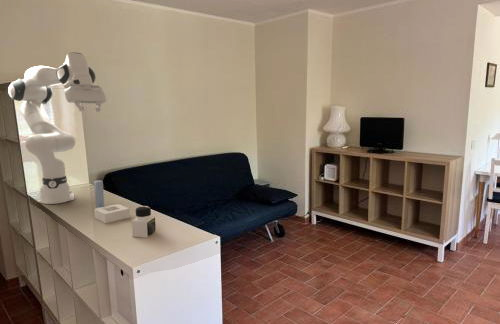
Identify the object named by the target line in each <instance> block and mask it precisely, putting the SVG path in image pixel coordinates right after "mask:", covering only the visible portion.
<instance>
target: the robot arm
mask: <svg viewBox="0 0 500 324" xmlns="http://www.w3.org/2000/svg"><path fill="white" fill-rule="evenodd" d="M95 81H96V72H94V70H93V69H92V68H91V67H90V66H89V64H88V62H87V59H86V57H85V55H84V54H83V53H81V52H75V51H74V52H68V53H67V54H66V57H65V61H64V62H63V64H62V65H60V66H59V67H58V68H56V67H50V66H45V65H38V66H37V65H36V66H33V67H30V68H28V69H27V70H25V72H24V78H23V79H21V78H17V80H15V81H12V82H11V83H10V84H9V86H8V88H7V90H8V91H7V92H8V96H9V97H10V99H11V100H13V101H17V102H23V103H22V104H21V105H20V106H21V107H20V110H21V113H22V116H23V119H24V121H25V122H26V124H27V125H28V127H29V129H30V131H31V132H32V133H34V134H32V135H31V134H30V135H29V136H27V138H26V139H25V142H24V143H25V148H26V150H27V151H28V152H29V153H31V154H32V155H34V156H35V157H36V158H37V159H38V160H39V162H40V166H41V172H42V180H41V181H42V185H41V186H40V189H39V190H40V191H39V192H40V193H39V194H40V199H38V200H37V203H42V204H45V205H54V204H56V205H57V204H62V203H66V202H68V201H69V202H70V201H74V200H75V199H76V197H75V194H74V192H72V191H71V189H70V185H69V184H68V181H67V180H68V178H67V175H66V168H65V167H66V166H65V163H64V161H63V160H61V159H59V158H57V157H55V153H61V152H67V151H69V150H73V149H74V147H75V145H76V138H75V137H74V135H73V134H72V133H70V132H67V131H64V130H62V129H61V128H59V127H58V126H56V125H55V124H54V123H53V122H52V120H51V119H50V117H49V116H48V115H47V113H46V112H45V110H44V108H43V106H44V105H47V103H48V102H49V101H50V100H51V98H52V97H53V89H52V86H56V85H57V86H58V85H63V88H64V95H65V100H66V102H68V103H71V104H72V103H74V105H75V106H76V108H77V109H78V111H79V112H84V111H85V107H83V106H82V105H81V104H95V105H96V108H95V111H96V112H99V113H100V112H101V107H102V104H105V103H106V102H107V98H106V95H105V92H104V90H103V88H102V87H101V86H99V85H95V84H94V83H95Z"/></svg>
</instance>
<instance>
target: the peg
mask: <svg viewBox="0 0 500 324" xmlns="http://www.w3.org/2000/svg"><path fill="white" fill-rule="evenodd" d="M103 181H104V180H94V182H93V184H94V196H95V198H94V199H95V200H94V201H95V208H100V207H105V199H104V198H105V195H104V182H103Z"/></svg>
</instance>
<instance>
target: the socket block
mask: <svg viewBox="0 0 500 324" xmlns="http://www.w3.org/2000/svg"><path fill="white" fill-rule="evenodd" d="M93 210H94V211H93V212H94V219H96V220H99V221H100V222H101V223H104V224H107V223H113V222H116V221H122V220H126V219H129V218H130V208H129V207H126V206H124V205H122V204H119V203H117V204H112V205H111V204H110V205H107V206H105V205H104V207H100V208H96V207H95V208H94V209H93Z"/></svg>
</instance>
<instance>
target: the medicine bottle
mask: <svg viewBox="0 0 500 324" xmlns="http://www.w3.org/2000/svg"><path fill="white" fill-rule="evenodd" d="M151 211H152V210H151V207H149V206H147V205H143V206H141V205H140V206H138V207H137V208H135V218H134V219H132V220H131V231H132V233H131V234H132V237H133V238H142V237H143V238H144V239H149V238H150V237H151V236H153V235H154V234H155V233H156V231H157V230H156V216H152V212H151Z"/></svg>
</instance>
